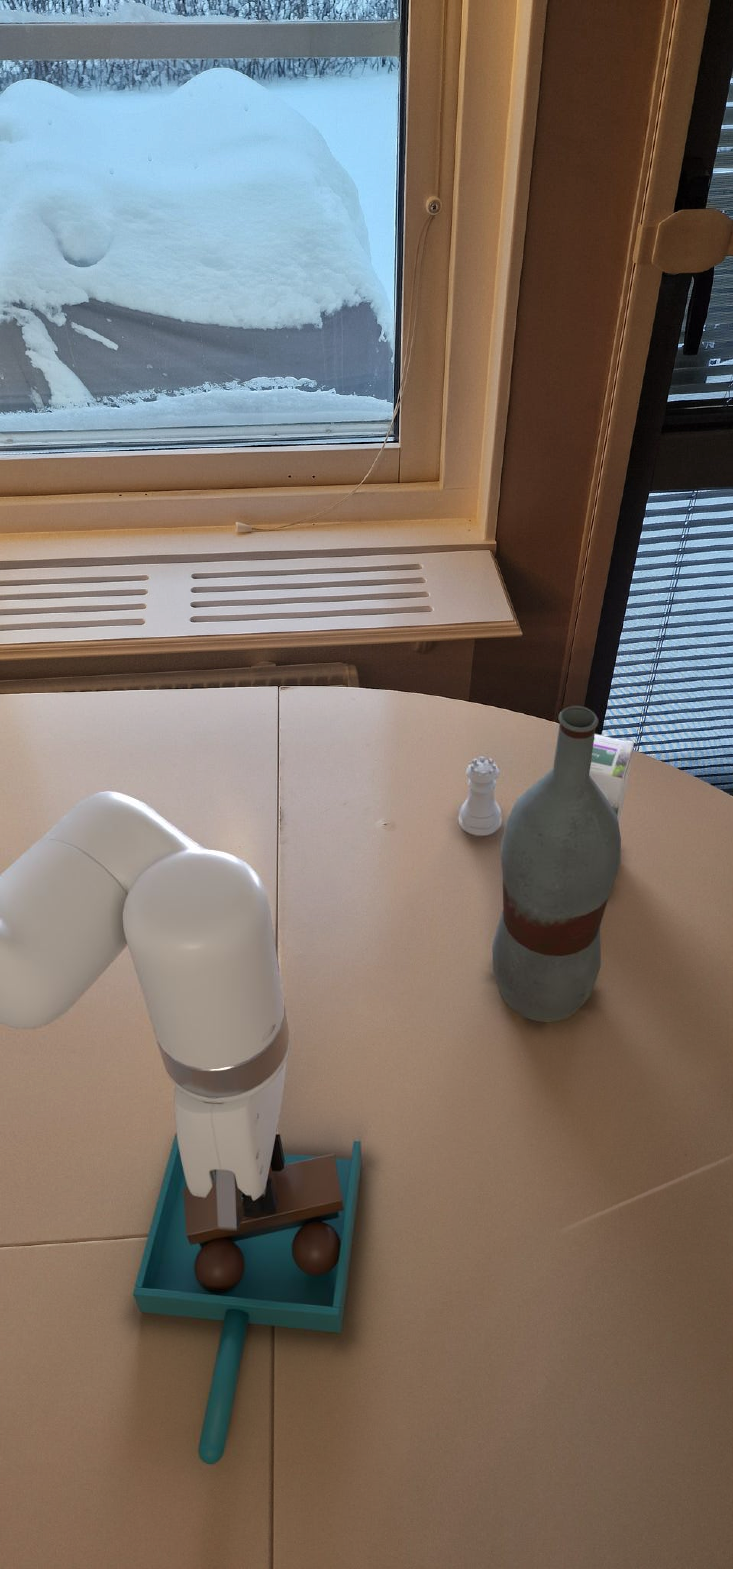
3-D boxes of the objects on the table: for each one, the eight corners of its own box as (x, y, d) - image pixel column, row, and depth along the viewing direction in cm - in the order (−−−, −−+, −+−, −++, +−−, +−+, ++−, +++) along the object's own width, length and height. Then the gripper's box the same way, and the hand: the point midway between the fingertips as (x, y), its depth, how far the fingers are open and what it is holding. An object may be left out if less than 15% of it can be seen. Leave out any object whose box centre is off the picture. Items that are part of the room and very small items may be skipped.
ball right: (302, 1287, 73) (294, 1276, 70) (290, 1237, 75) (282, 1224, 72) (349, 1271, 73) (344, 1259, 70) (336, 1222, 75) (330, 1208, 73)
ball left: (180, 1247, 72) (210, 1243, 75) (188, 1302, 70) (218, 1295, 73) (220, 1234, 71) (249, 1230, 74) (230, 1290, 69) (259, 1283, 72)
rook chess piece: (461, 806, 109) (463, 747, 103) (503, 811, 108) (508, 752, 102) (455, 835, 105) (457, 776, 100) (499, 841, 105) (503, 782, 99)
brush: (194, 1255, 73) (162, 1185, 67) (191, 1207, 76) (161, 1135, 69) (346, 1220, 74) (330, 1148, 68) (338, 1174, 77) (321, 1100, 70)
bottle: (471, 961, 93) (488, 695, 73) (560, 930, 96) (600, 664, 76) (521, 1043, 87) (554, 775, 67) (615, 1007, 89) (674, 739, 69)
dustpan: (183, 1145, 81) (177, 1125, 79) (361, 1161, 79) (360, 1140, 77) (103, 1458, 65) (92, 1443, 63) (323, 1484, 64) (320, 1469, 62)
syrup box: (544, 877, 101) (558, 764, 91) (559, 837, 105) (573, 725, 95) (602, 892, 99) (623, 779, 89) (615, 850, 103) (636, 738, 93)
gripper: (192, 923, 67) (229, 1082, 79) (122, 1155, 55) (179, 1300, 67) (307, 929, 66) (326, 1089, 78) (262, 1166, 54) (293, 1311, 66)
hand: (258, 1185), depth 72 cm, fingers closed on brush, 2 cm apart
